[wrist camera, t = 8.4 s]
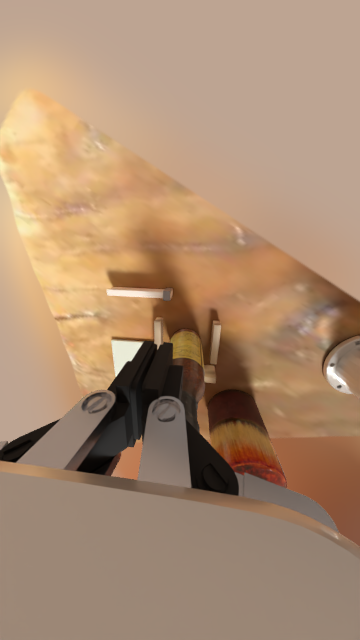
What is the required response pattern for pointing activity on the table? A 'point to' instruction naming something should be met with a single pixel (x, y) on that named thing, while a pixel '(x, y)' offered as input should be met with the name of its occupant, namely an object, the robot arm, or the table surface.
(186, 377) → the sauce bottle
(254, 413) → the vase
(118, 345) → the tile
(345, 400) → the table surface
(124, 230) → the table surface
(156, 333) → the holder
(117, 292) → the bar
